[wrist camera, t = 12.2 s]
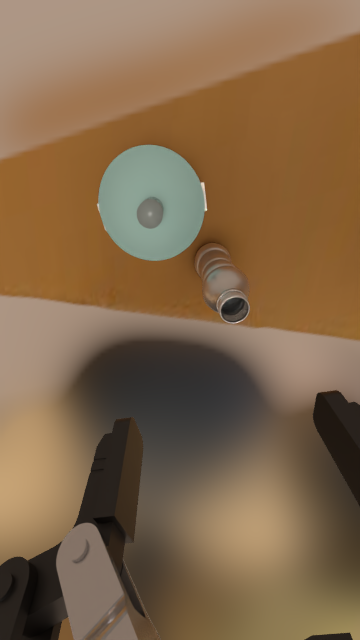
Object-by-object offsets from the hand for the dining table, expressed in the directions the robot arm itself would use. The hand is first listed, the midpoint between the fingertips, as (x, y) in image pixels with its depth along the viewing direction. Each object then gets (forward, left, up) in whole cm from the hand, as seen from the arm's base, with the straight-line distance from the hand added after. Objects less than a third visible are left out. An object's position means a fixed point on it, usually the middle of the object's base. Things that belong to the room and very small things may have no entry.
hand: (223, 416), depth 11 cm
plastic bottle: (-4, +5, -38) cm, 38 cm away
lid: (+4, -6, -30) cm, 30 cm away
